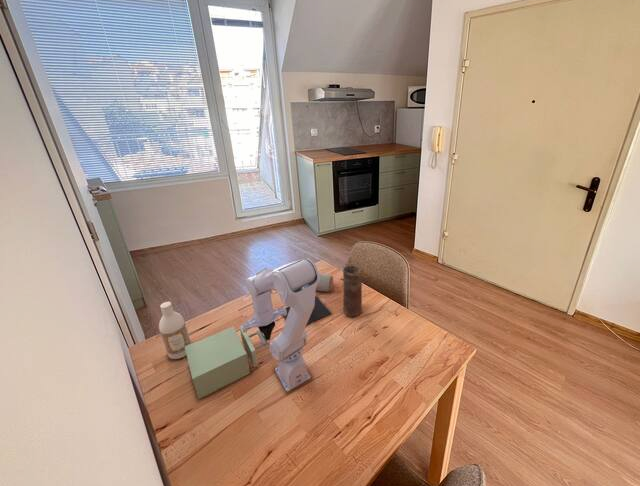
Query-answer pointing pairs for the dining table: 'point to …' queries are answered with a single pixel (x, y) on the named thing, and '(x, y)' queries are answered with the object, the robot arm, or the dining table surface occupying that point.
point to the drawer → (250, 347)
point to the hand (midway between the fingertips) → (267, 338)
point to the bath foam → (173, 331)
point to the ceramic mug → (325, 283)
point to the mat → (315, 311)
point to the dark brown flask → (352, 290)
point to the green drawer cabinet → (216, 361)
